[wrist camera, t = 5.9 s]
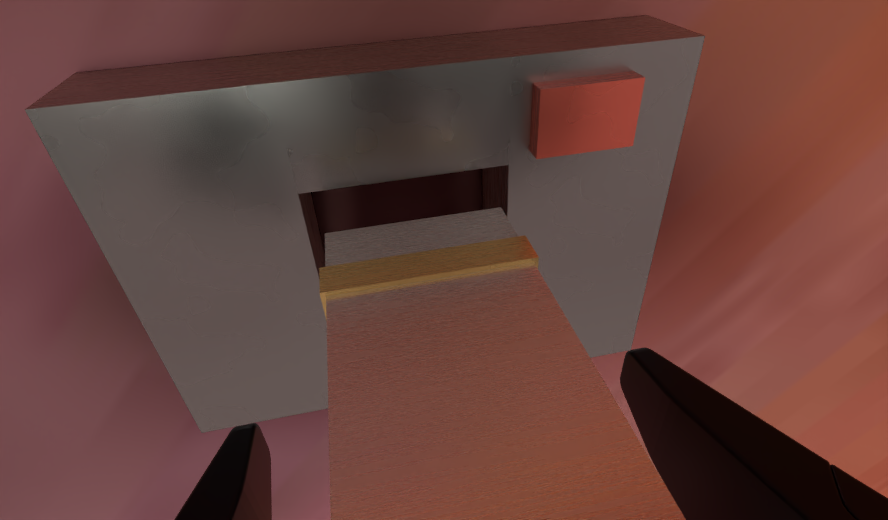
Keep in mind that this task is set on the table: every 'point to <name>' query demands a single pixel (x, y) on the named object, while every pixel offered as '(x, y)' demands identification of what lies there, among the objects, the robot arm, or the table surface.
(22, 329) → the table surface
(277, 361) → the sleeve block
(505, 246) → the post
